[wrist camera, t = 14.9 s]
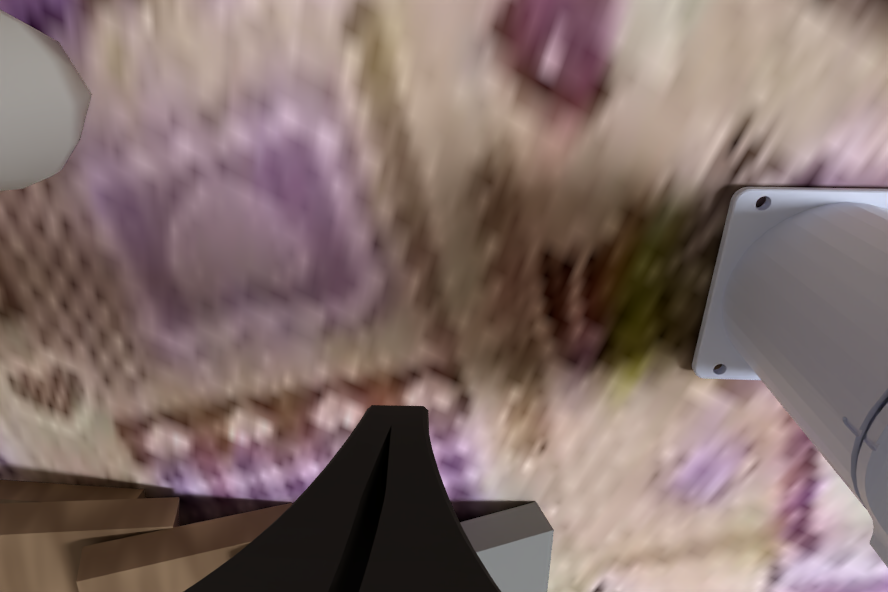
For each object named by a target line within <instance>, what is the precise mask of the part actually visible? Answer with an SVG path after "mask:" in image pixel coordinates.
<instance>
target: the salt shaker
mask: <svg viewBox="0 0 888 592" xmlns="http://www.w3.org/2000/svg"><path fill="white" fill-rule="evenodd" d="M91 95H92V94H91V93H90V91H89V89H88V88H87V86H86V85H85V83H84V81H83V80H82V78H81V77H80V75H79V73H78V72H77V70H76V69H75V67H74V66H73V64H72V62H71V61H70V59H69V58H68V56H67V54H66V53H65V51H64V50H63V48H62V47H61V45H60V43H59V42H58V41H56V40H54V39H52V38H50V37H49V36H47V35H45V34H43V33H42V32H40V31H38V30H36V29H34V28H33V27H31V26H29V25H27V24H26V23H24V22H22V21H20V20H18V19H16V18H15V17H13V16H11V15H9V14H7V13H5V12H4V11H2V10H0V191H5V190H16V189H23V188H26V187H28V186H30V185H33V184H35V183H37V182H39V181H42V180H44V179H46V178H49V177H51V176H53V175H55V174H56V173H58V172H59V171H61V170H62V168H63V167H64V165H65V163H66V162H67V160H68V158H69V157H70V155H71V153H72V152H73V150H74V149H75V147H76V145H77V144H78V142H79V140H80V137H81V133H82V130H83V126H84V122H85V118H86V114H87V110H88V106H89V103H90V99H91Z"/></svg>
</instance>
